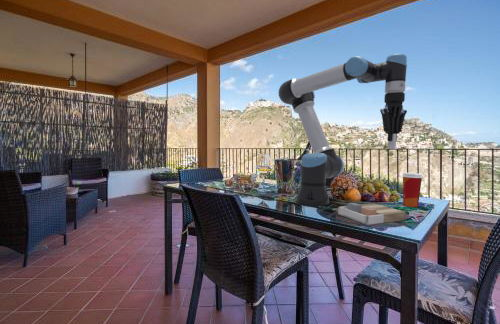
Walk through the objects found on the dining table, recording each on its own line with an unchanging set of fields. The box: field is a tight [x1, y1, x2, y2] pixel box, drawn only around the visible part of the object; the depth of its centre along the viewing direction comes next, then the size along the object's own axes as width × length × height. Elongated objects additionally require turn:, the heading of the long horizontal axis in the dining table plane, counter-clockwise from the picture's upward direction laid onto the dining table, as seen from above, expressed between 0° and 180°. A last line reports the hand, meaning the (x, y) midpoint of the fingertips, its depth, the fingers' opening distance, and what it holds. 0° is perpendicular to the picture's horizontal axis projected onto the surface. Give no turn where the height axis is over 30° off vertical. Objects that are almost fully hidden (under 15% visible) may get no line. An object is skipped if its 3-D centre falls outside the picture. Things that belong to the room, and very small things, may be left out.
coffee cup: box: [401, 172, 423, 208], centre depth 124 cm, size 8×8×15 cm
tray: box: [337, 205, 384, 226], centre depth 103 cm, size 15×8×3 cm, turn 21°
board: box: [361, 202, 407, 224], centre depth 107 cm, size 15×11×3 cm
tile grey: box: [347, 202, 362, 214], centre depth 107 cm, size 4×4×3 cm
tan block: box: [362, 207, 377, 216], centre depth 100 cm, size 4×4×3 cm
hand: (391, 148), depth 115 cm, fingers closed
